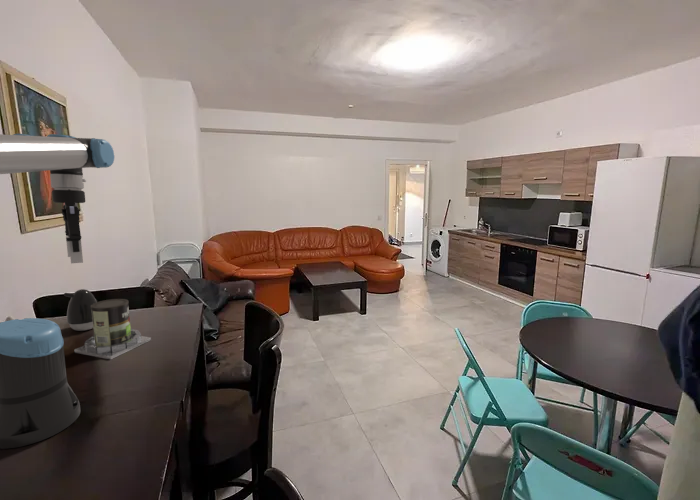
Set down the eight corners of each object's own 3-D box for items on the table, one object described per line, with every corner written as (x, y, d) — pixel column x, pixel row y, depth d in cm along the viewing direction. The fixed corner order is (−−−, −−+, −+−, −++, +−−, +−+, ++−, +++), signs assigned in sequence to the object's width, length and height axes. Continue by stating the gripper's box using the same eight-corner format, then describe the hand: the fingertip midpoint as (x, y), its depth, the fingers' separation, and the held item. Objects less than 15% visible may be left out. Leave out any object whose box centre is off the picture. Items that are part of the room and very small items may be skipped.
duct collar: (110, 359, 105) (109, 350, 104) (74, 352, 109) (73, 343, 108) (151, 340, 119) (150, 332, 119) (117, 334, 123) (117, 326, 123)
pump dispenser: (72, 325, 130) (68, 287, 128) (104, 321, 135) (101, 284, 132) (63, 335, 121) (58, 294, 119) (98, 331, 125) (94, 291, 123)
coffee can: (134, 335, 120) (131, 297, 118) (128, 347, 111) (125, 306, 109) (99, 339, 116) (95, 300, 114) (90, 352, 107) (85, 309, 105)
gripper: (88, 189, 94) (95, 264, 97) (80, 190, 112) (86, 253, 115) (53, 188, 89) (61, 267, 92) (50, 189, 107) (57, 255, 110)
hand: (75, 259), depth 104 cm, fingers open, 13 cm apart
